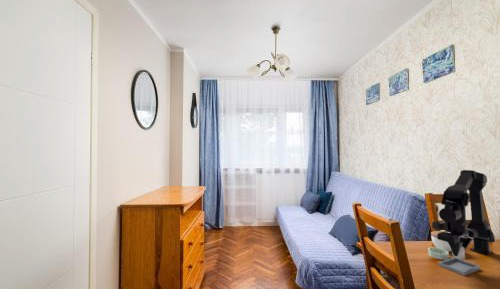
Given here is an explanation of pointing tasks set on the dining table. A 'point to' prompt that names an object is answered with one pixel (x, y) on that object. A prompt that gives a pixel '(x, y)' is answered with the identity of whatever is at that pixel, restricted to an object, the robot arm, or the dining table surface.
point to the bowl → (438, 253)
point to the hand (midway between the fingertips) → (458, 254)
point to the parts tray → (459, 266)
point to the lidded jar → (440, 241)
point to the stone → (460, 253)
